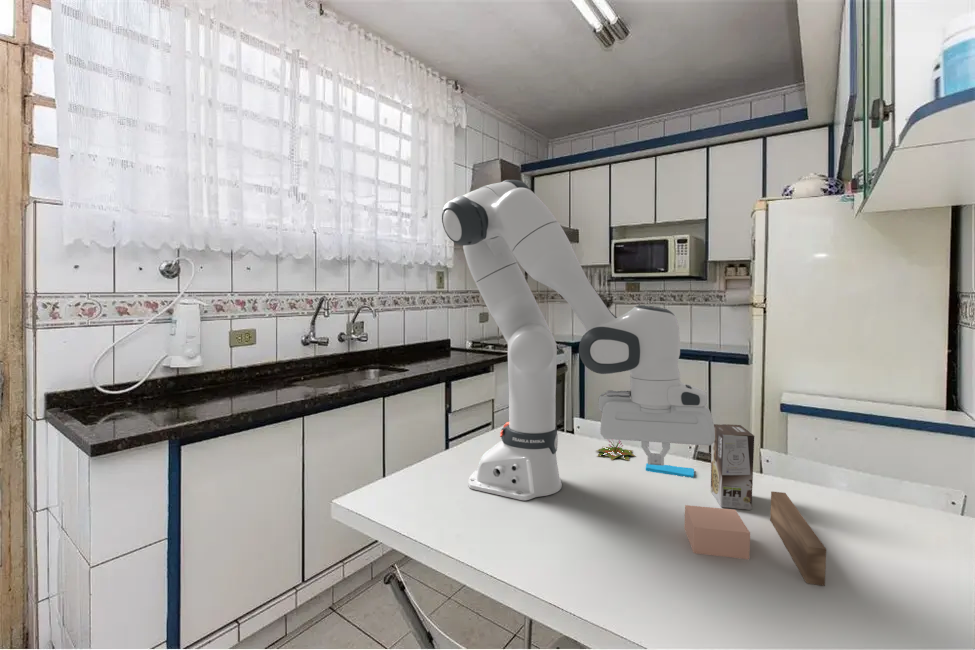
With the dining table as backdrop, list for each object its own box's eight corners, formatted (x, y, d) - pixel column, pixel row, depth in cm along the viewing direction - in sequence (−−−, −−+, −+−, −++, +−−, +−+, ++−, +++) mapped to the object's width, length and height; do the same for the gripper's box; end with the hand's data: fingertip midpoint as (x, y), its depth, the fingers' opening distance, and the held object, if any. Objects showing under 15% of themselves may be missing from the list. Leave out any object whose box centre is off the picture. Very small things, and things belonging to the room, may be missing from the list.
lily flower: (639, 451, 139) (639, 436, 139) (634, 465, 128) (634, 449, 128) (598, 446, 144) (598, 431, 144) (589, 459, 133) (590, 443, 133)
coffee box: (753, 510, 100) (755, 435, 99) (720, 507, 102) (722, 434, 101) (739, 492, 109) (741, 424, 108) (709, 490, 111) (711, 422, 110)
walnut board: (806, 583, 75) (807, 546, 75) (770, 520, 96) (771, 491, 96) (824, 585, 74) (826, 549, 74) (784, 521, 95) (785, 492, 95)
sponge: (647, 461, 129) (644, 465, 123) (695, 468, 123) (694, 473, 118) (647, 466, 128) (643, 471, 123) (695, 474, 123) (694, 479, 118)
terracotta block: (693, 554, 84) (694, 527, 84) (684, 529, 93) (685, 505, 92) (749, 560, 82) (750, 532, 82) (734, 534, 91) (735, 509, 90)
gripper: (596, 393, 89) (598, 465, 90) (716, 397, 83) (716, 474, 83) (599, 386, 95) (600, 454, 96) (711, 390, 89) (711, 462, 89)
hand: (655, 464), depth 90 cm, fingers closed
